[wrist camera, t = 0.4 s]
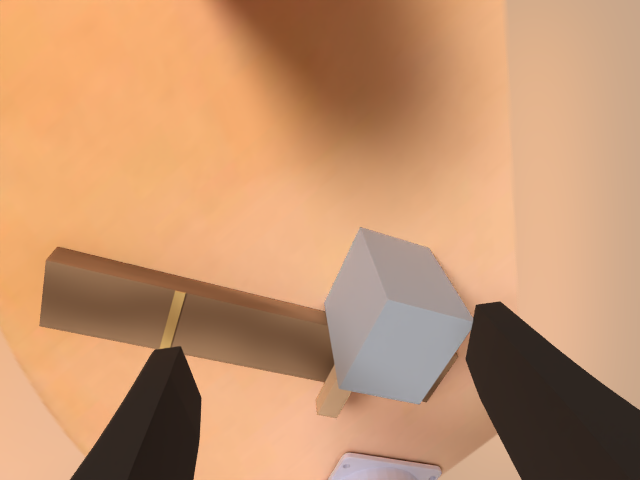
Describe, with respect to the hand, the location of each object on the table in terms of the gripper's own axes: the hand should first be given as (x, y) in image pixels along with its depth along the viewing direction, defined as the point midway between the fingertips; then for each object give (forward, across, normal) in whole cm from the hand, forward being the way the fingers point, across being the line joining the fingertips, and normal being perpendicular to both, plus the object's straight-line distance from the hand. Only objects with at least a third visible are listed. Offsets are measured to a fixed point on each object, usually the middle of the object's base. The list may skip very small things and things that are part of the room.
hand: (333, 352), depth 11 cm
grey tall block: (+10, -2, +9) cm, 14 cm away
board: (+10, +3, +9) cm, 14 cm away
